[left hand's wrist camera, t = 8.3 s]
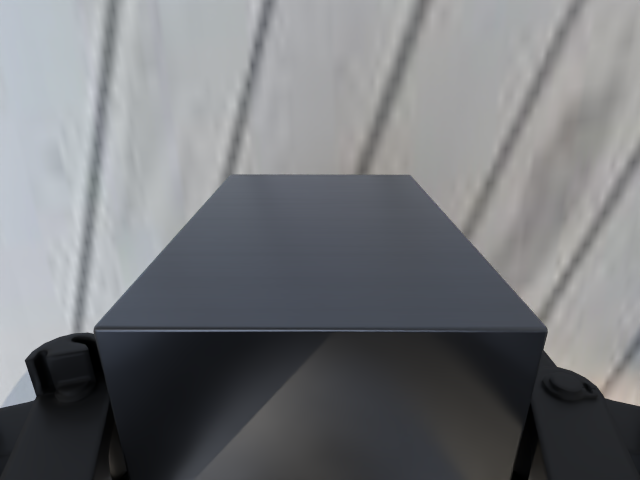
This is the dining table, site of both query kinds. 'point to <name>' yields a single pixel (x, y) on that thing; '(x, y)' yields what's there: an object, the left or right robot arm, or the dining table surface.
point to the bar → (320, 341)
